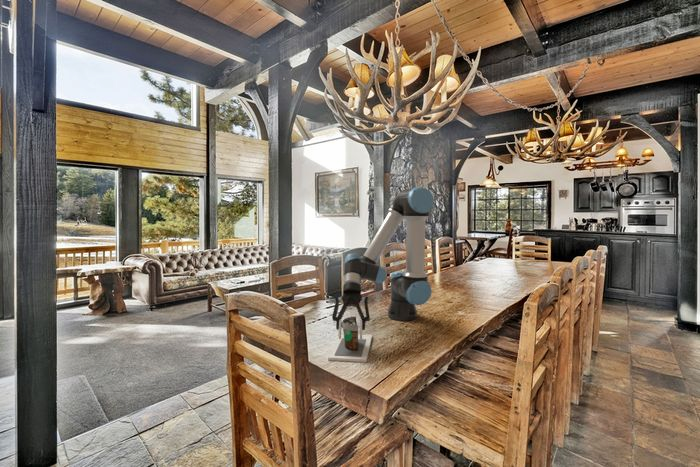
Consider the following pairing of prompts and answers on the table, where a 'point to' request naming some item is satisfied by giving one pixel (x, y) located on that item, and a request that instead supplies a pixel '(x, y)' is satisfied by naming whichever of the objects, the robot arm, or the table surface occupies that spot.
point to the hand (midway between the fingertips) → (350, 337)
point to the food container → (350, 333)
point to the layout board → (351, 355)
